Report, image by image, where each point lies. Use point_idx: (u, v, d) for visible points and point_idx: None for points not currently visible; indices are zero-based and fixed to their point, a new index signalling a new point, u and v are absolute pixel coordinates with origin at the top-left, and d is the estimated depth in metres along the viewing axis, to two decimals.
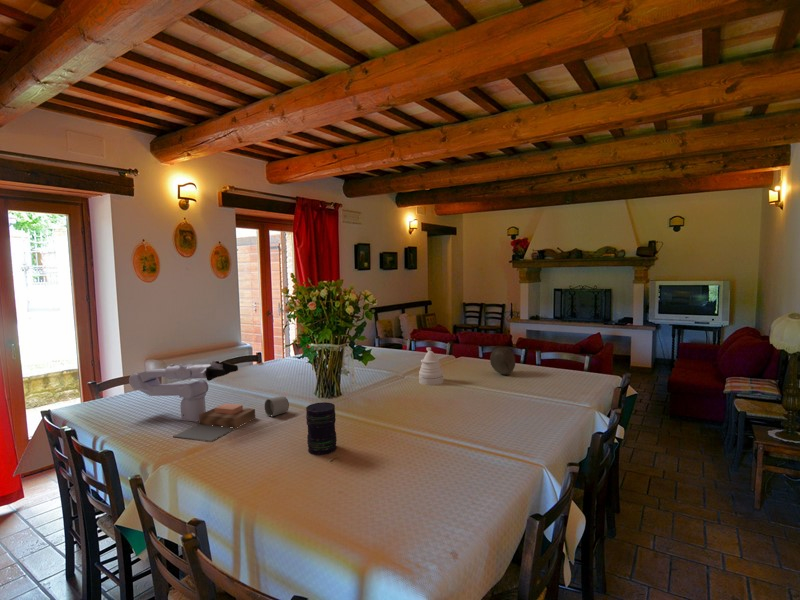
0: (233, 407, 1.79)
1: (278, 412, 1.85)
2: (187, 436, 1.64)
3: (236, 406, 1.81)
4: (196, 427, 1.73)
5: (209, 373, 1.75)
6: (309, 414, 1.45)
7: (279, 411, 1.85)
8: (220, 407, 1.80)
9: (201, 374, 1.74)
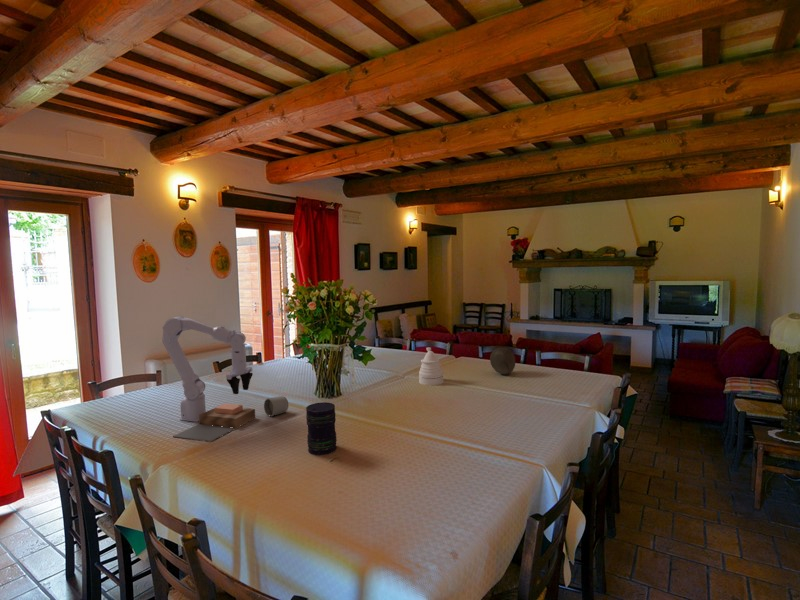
0: (233, 407, 1.79)
1: (277, 412, 1.85)
2: (187, 436, 1.64)
3: (236, 406, 1.81)
4: (196, 427, 1.73)
5: None
6: (309, 414, 1.45)
7: (278, 411, 1.85)
8: (220, 407, 1.80)
9: (228, 377, 1.81)
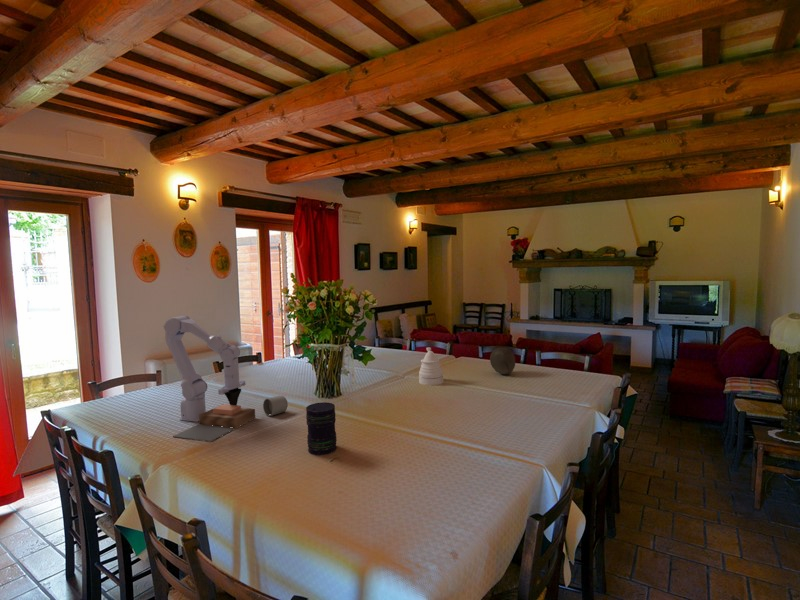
0: (231, 408, 1.78)
1: (277, 412, 1.85)
2: (187, 436, 1.64)
3: (234, 407, 1.80)
4: (196, 427, 1.73)
5: None
6: (309, 414, 1.45)
7: (278, 411, 1.85)
8: (218, 408, 1.79)
9: (220, 392, 1.76)
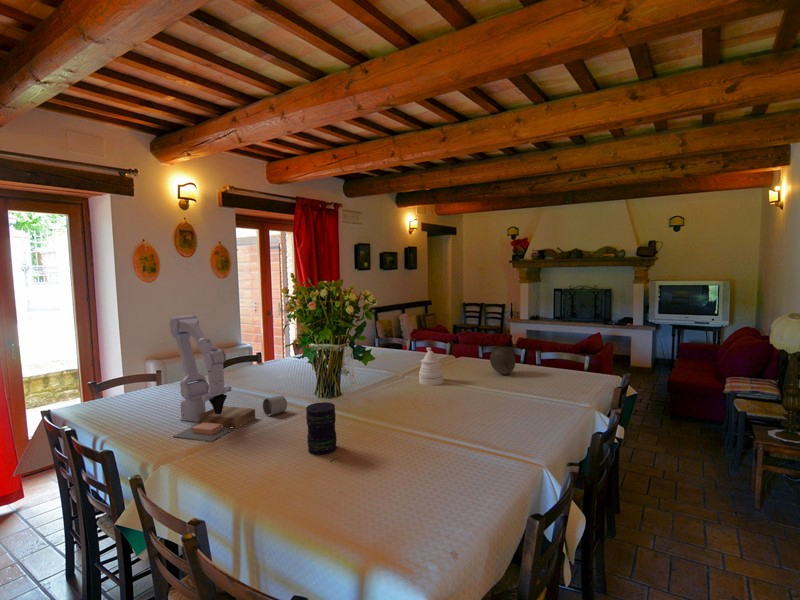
0: None
1: (276, 411, 1.85)
2: (187, 436, 1.64)
3: None
4: None
5: None
6: (309, 414, 1.45)
7: (277, 410, 1.86)
8: None
9: (204, 398, 1.68)
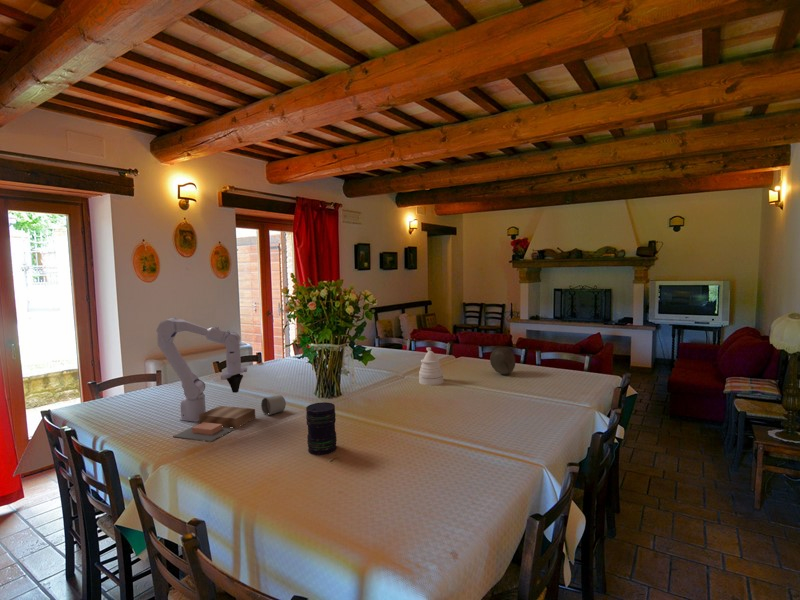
0: None
1: (275, 411, 1.86)
2: (187, 436, 1.64)
3: None
4: None
5: None
6: (309, 414, 1.45)
7: (276, 410, 1.86)
8: None
9: (223, 377, 1.80)
